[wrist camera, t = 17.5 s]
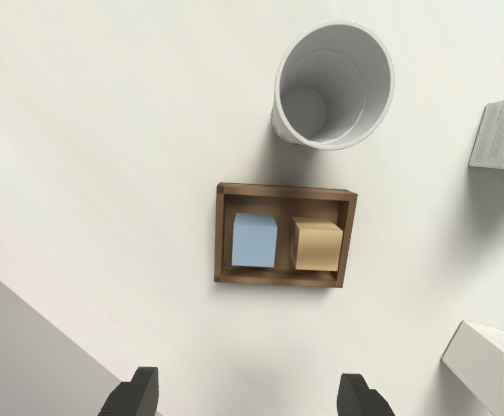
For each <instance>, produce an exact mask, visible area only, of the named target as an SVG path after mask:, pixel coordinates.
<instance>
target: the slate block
mask: <svg viewBox="0 0 504 416" xmlns="http://www.w3.org/2000/svg"><path fill="white" fill-rule="evenodd" d="M276 237H277V225H276V222H275V220H274V217H273V215H264V214H246V213H236V217H235V221H234V229H233V251H232V265H238V266H257V267H274V259H275V248H276Z"/></svg>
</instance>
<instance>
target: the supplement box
mask: <svg viewBox="0 0 504 416" xmlns="http://www.w3.org/2000/svg"><path fill="white" fill-rule="evenodd" d="M469 165H470V166H474V167H485V168H495V169H504V101H499V102H494V103H488V104H487V106H486V109H485V113H484V116H483V119H482V122H481V126H480V129H479V132H478V135H477V138H476V142H475V145H474V148H473V152H472V155H471V158H470V162H469Z"/></svg>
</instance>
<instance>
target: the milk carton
mask: <svg viewBox="0 0 504 416" xmlns="http://www.w3.org/2000/svg"><path fill="white" fill-rule="evenodd" d="M442 361H443V362H444V363H445V364H446V365H447V366H448V367H449V368H450V369H451V370H452V371H453V373H454V374H455V375H456V376H457V377H458V378H459V379H460V380H461V381H462V382H463V383H464V384H465V385H466V387H467V388H468V389H469V390H470V391H471V392H472V393H473V394H474V395H475V396H476V397H477V398H478V399H479V401H480V402H481V403H482V404H483V405H484V406H485V407H486V408H487V409H488V410H489V411H490V412H491V413H492V415H493V416H504V330H500V329H496V328H492V327H489V326H485V325H481V324H477V323H473V322H469V321H465V320H464V321H463V322H462V324H461V326H460V327H459V329H458V331H457V333H456V334H455V336H454V338H453V340H452V341H451V343H450V345H449V347H448V349H447V350H446V352H445V354H444V356H443V358H442Z"/></svg>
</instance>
